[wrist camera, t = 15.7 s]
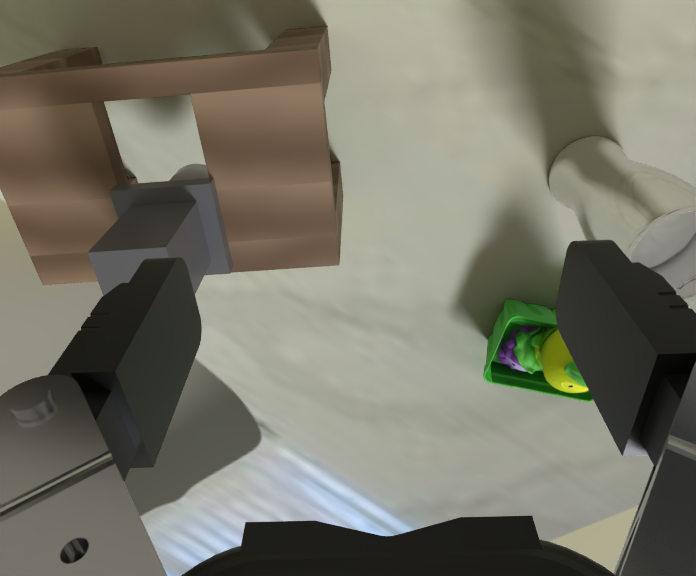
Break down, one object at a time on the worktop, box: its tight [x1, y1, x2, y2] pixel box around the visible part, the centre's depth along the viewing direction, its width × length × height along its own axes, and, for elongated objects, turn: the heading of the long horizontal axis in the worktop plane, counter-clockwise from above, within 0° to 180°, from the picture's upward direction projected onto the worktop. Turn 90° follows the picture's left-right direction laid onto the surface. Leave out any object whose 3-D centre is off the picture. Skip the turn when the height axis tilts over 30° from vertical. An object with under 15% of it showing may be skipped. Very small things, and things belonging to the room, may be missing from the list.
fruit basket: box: [483, 299, 594, 402], centre depth 47 cm, size 11×9×11 cm
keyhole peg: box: [88, 164, 233, 295], centre depth 33 cm, size 6×6×13 cm
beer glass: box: [549, 136, 696, 302], centre depth 37 cm, size 7×7×15 cm
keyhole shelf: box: [0, 26, 343, 285], centre depth 37 cm, size 13×20×12 cm, turn 95°
